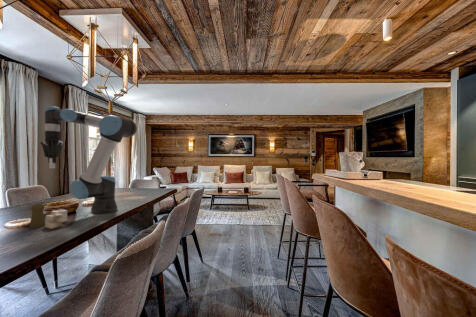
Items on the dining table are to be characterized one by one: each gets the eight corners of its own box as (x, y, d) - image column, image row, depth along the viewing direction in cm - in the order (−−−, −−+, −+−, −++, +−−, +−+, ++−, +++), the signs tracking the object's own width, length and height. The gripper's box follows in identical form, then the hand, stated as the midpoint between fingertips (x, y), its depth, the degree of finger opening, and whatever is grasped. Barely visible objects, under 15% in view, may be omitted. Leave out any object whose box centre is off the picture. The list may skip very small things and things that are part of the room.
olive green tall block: (45, 225, 117) (46, 204, 117) (29, 228, 112) (30, 205, 112) (44, 223, 121) (44, 202, 121) (29, 225, 117) (29, 204, 117)
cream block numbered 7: (61, 220, 128) (61, 209, 128) (67, 221, 126) (67, 210, 126) (51, 222, 123) (51, 210, 123) (57, 223, 121) (57, 211, 121)
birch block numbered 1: (56, 224, 119) (56, 212, 119) (62, 226, 117) (62, 214, 117) (45, 227, 115) (45, 215, 115) (51, 228, 113) (51, 216, 113)
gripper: (67, 132, 149) (67, 168, 149) (46, 131, 148) (46, 168, 148) (58, 130, 142) (58, 168, 141) (36, 130, 141) (36, 168, 141)
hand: (52, 168), depth 145 cm, fingers closed
